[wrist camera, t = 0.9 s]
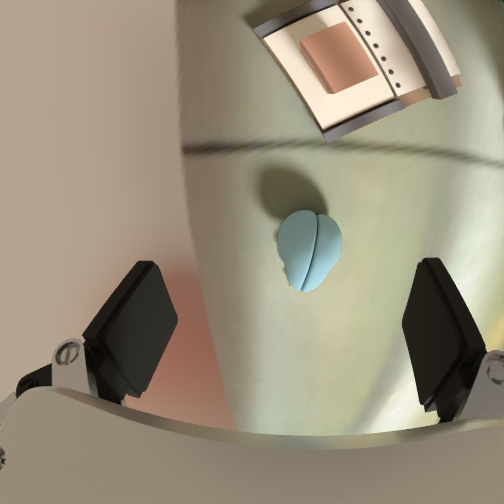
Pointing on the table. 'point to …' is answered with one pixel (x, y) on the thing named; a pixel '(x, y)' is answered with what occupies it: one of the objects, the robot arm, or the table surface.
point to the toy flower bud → (308, 248)
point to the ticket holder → (386, 53)
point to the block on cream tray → (330, 66)
